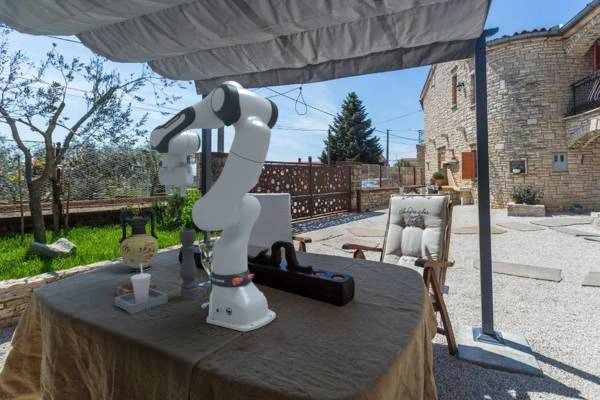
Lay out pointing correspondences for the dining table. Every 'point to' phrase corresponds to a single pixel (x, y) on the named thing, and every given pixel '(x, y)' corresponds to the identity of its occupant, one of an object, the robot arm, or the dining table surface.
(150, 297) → the tray
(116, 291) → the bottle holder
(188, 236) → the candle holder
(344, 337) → the dining table surface
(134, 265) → the amphora
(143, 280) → the smoothie
